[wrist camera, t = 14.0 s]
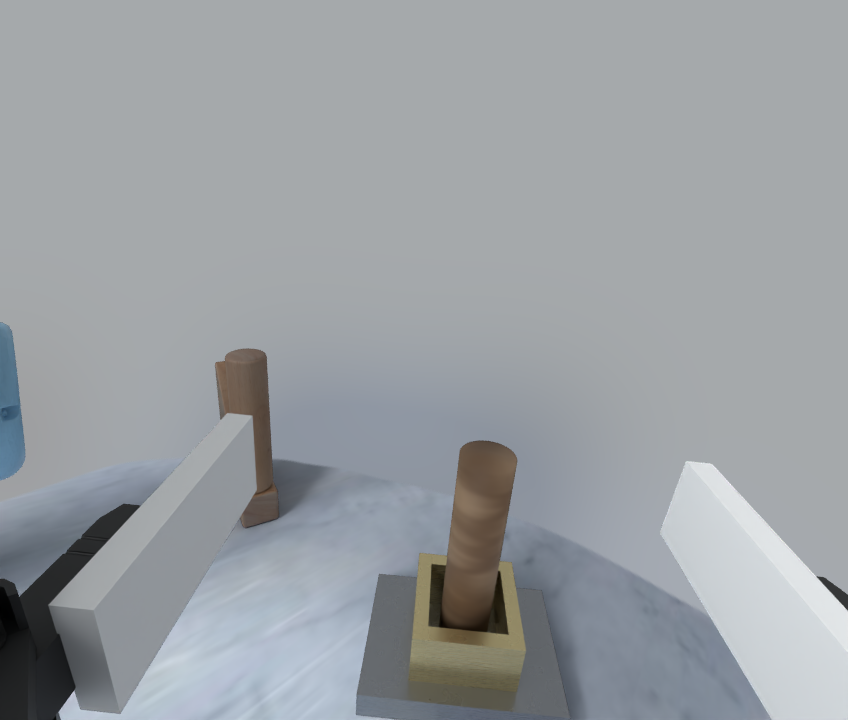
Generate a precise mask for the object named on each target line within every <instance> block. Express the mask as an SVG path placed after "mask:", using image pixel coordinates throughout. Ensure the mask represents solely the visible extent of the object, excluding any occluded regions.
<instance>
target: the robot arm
mask: <svg viewBox="0 0 848 720" xmlns="http://www.w3.org/2000/svg"><path fill="white" fill-rule="evenodd" d="M24 461H25V443H24V434H23V425H22V417H21V409H20V397H19V386H18V377H17V368H16V360H15V351H14V343H13V336H12V331H11V329H10V327H9V326H8V325H6V324H4V323H2V322H0V480H3V479H6V478H8V477H10V476H12V475H14V474H15V473H16V472H17V471H18V470H19V469H20V468H21V467H22V465H23V463H24ZM256 490H257V484H256V467H255V450H254V433H253V416H251V415H241V414H232V413H227V414H226V415H225V416H224V417H223V418H222V419H221V421H220V422H219V423H218V424H217V425H216V426H215V427H214V428H213V429H212V430H211V431H210V432H209V433H208V434H207V435H206V437H205V438H204V439H203V440H202V441H201V442H200V443H199V444H198V445H197V446H196V447H195V448H194V449H193V451H192V452H191V453H190V454H189V455H188V456H187V457H186V458H185V459H184V460H183V461H182V462H181V463H180V464H179V465H178V467H177V468H176V469H175V470H174V471H173V472H172V473H171V474H170V475H169V476H168V477H167V478H166V479H165V480H164V482H163V483H162V484H161V485H160V486H159V487H158V488H157V489H156V490H155V491H154V492H153V493H152V494H151V495H150V497H149V498H148V499H147V500H146V501H145V502H144V503H143V504H142V505H141V506H139V505H130V504H123V505H121V506H119V507H117V508H116V509H114V510H112V511H111V512H109V513H107V514H106V515H104V516H102V517H101V518H99V519H98V520H97V521H96V522H95V523H94V524H93V525H92V526H91V527H90V528H89V529H88V530H87V531H86V532H85V533H84V534H83V535H82V538H81V539H78V540H77V541H76V542H75V543H74V544H73V545H72V546H71V547H70V548H69V549H68V550H67V553H66V554H63V555H62V556H61V557H60V558H59V559H57V560H56V561H55V562H54V563H53V564H52V565H51V566H50V567H49V568H48V569H47V570H46V571H45V572H44V573H43V574H42V575H41V576H40V577H39V578H38V579H37V580H36V581H35V582H34V583H33V584H32V585H31V586H30V587H29V588H28V589H27V590H26V591H25V592H24V593H23V594H22V595H21V596H20V597H19V595H18V592H17V590H16V587H15V584H14V583H12V582H10V581H8V580H5V579H0V720H61V719H60V716H59V713H58V712H59V710H60V709H61V708H62V706H63V705H64V703H65V702H66V701H67V699H68V698H69V697H70V695H71V694H72V692H73V691H74V690H75V694H76V697H77V700H78V703H79V707H80V709H81V710H90V711H99V712H108V713H117V714H121V712H122V710H123V709H124V707H125V705H126V704H127V702H128V700H129V699H130V697H131V696H132V694H133V692H134V691H135V689H136V687H137V686H138V684H139V682H140V681H141V679H142V677H143V676H144V674H145V673H146V671H147V669H148V668H149V666H150V664H151V663H152V661H153V659H154V658H155V656H156V654H157V653H158V651H159V650H160V648H161V646H162V645H163V643H164V641H165V640H166V638H167V636H168V635H169V633H170V631H171V630H172V628H173V627H174V625H175V623H176V622H177V620H178V618H179V617H180V615H181V613H182V612H183V610H184V608H185V607H186V605H187V604H188V602H189V600H190V599H191V597H192V595H193V594H194V592H195V590H196V589H197V587H198V586H199V584H200V582H201V581H202V579H203V577H204V576H205V574H206V572H207V571H208V569H209V567H210V566H211V564H212V563H213V561H214V559H215V558H216V556H217V554H218V553H219V551H220V549H221V548H222V546H223V544H224V543H225V541H226V540H227V538H228V536H229V535H230V533H231V531H232V530H233V528H234V526H235V525H236V523H237V521H238V520H239V518H240V517H241V515H242V513H243V512H244V510H245V508H246V507H247V505H248V503H249V502H250V500H251V499H252V497H253V495H254V494H255V492H256ZM660 534H661V536H662V537H663V539H664V541H665V542H666V544H667V546H668V547H669V549H670V551H671V552H672V554H673V556H674V557H675V559H676V561H677V562H678V564H679V566H680V567H681V569H682V570H683V572H684V574H685V576H686V577H687V579H688V581H689V582H690V584H691V586H692V587H693V589H694V591H695V592H696V594H697V596H698V597H699V599H700V601H701V602H702V604H703V606H704V607H705V609H706V611H707V612H708V614H709V616H710V617H711V619H712V621H713V622H714V624H715V626H716V627H717V629H718V631H719V632H720V634H721V636H722V637H723V639H724V641H725V642H726V644H727V646H728V647H729V649H730V651H731V652H732V654H733V656H734V657H735V659H736V661H737V662H738V664H739V666H740V667H741V669H742V671H743V672H744V674H745V676H746V677H747V679H748V681H749V683H750V684H751V686H752V688H753V689H754V691H755V693H756V694H757V696H758V698H759V699H760V701H761V703H762V704H763V706H764V708H765V709H766V711H767V713H768V714H769V716H770V718H771V719H772V720H848V595H847V594H846V593H845V592H843V591H842V590H841V589H839V588H838V587H837V586H835V585H834V584H833V583H831V582H830V581H828V580H827V579H826V578H824V577H816V576H815V575H814V574H813V573H812V572H811V571H810V569H809V568H808V567H807V566H806V565H805V564H804V563H803V562H802V561H801V560H800V559H799V558H798V557H797V555H796V554H795V553H794V552H793V551H792V550H791V549H790V548H789V547H788V546H787V545H786V544H785V543H784V541H783V540H782V539H781V538H780V537H779V536H778V535H777V534H776V533H775V532H774V531H773V530H772V528H771V527H769V525H768V524H767V523H766V522H765V521H764V520H763V519H762V518H761V517H760V516H759V514H758V513H757V512H756V511H755V510H754V509H753V508H752V507H751V506H750V505H749V504H748V502H746V500H745V499H744V498H743V497H742V496H741V495H740V494H739V493H738V492H737V491H736V490H735V488H734V487H733V486H732V485H730V483H729V482H728V481H727V480H726V479H725V478H724V477H723V476H722V475H721V473H720V472H719V471H718V470H717V469H716V468H715V467H714V466H713V465H712V464H708V463H699V462H690V461H686V463H685V466H684V468H683V471H682V474H681V476H680V479H679V482H678V485H677V487H676V490H675V493H674V495H673V498H672V501H671V503H670V506H669V509H668V512H667V514H666V517H665V519H664V522H663V525H662V528H661V531H660Z"/></svg>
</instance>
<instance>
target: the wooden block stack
mask: <svg viewBox="0 0 848 720" xmlns="http://www.w3.org/2000/svg"><path fill="white" fill-rule="evenodd" d="M215 368H216V378H217V388H218V400H219V409H220V419H222V418H223V417H224V416H225V415H226V414H227V413H232V414H241V415H251V416H253V433H254V450H255V467H256V484H257V490H256V492H255V494H254V495H253V497H252V499H251V500H250V502H249V503H248V505H247V507H246V508H245V510H244V512H243V513H242V515H241V517H240V519H241V522H242V525H243V527H244V528H247V527H250V526H254V525H257V524H261V523H264V522H267V521H271V520H274V519H277V518H278V517H279V506H278V491H277V489H276V486H275V484H274V482H273V468H272V450H271V431H270V412H269V394H268V374H267V357H266V355H265V353H264V352H263V351H261V350H257V349H239V350H235V351H232V352H229V353H228V354H227V355H226V356H225V361H223V362H216V363H215Z"/></svg>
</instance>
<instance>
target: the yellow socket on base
mask: <svg viewBox="0 0 848 720" xmlns="http://www.w3.org/2000/svg"><path fill="white" fill-rule="evenodd" d="M446 562H447V556H445V555H435V554H425V553H419V564H418V575H417V578H415V577H405V576H396V575H386V574H379V577H378V582H377V588H376V593H375V599H374V604H373V609H372V615H371V620H370V626H369V631H368V636H367V642H366V647H365V653H364V658H363V663H362V669H361V674H360V680H359V685H358V690H357V699H356V715H363V716H372V717H381V718H390V719H399V720H570V714H569V710H568V705H567V701H566V697H565V692H564V688H563V683H562V679H561V674H560V670H559V666H558V661H557V657H556V652H555V648H554V644H553V639H552V635H551V630H550V626H549V621H548V617H547V613H546V608H545V604H544V599H543V595H542V590H532V589H522V588H516V586H515V580H514V574H513V567H512V562H504V561H500V563H499V568H498V574H497V580H496V585H495V591H494V597H493V602H492V608H491V614H490V620H489V625H488V631H487V632H477V631H468V630H458V629H449V628H439V620H440V612H441V604H442V595H443V587H444V579H445V570H446Z"/></svg>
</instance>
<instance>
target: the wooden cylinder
mask: <svg viewBox="0 0 848 720" xmlns="http://www.w3.org/2000/svg"><path fill="white" fill-rule="evenodd" d="M516 465H517V457H516V455H515V454H514V452H512V451H511V450H510V449H509V448H507V447H505V446H503V445H501V444H499V443H495V442H491V441H473V442H469V443H467V444H465V445H464V446H463V447H462V448H461V450H460V454H459V463H458V471H457V479H456V487H455V495H454V504H453V512H452V520H451V529H450V537H449V545H448V554H447V562H446V570H445V579H444V587H443V595H442V604H441V612H440V620H439V628H449V629H458V630H468V631H477V632H487V631H488V625H489V620H490V614H491V608H492V602H493V597H494V591H495V585H496V580H497V574H498V568H499V563H500V557H501V551H502V545H503V540H504V534H505V528H506V523H507V517H508V511H509V505H510V499H511V494H512V488H513V482H514V477H515V471H516Z"/></svg>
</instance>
